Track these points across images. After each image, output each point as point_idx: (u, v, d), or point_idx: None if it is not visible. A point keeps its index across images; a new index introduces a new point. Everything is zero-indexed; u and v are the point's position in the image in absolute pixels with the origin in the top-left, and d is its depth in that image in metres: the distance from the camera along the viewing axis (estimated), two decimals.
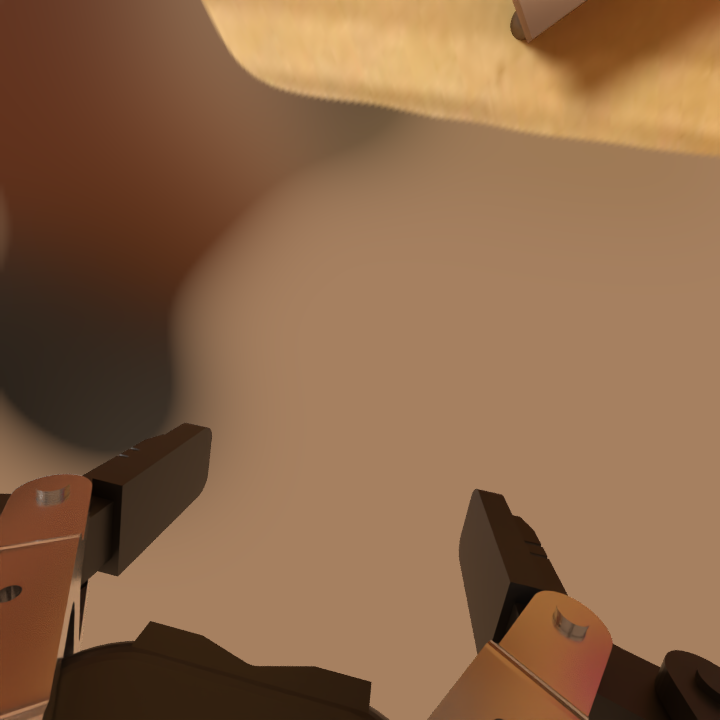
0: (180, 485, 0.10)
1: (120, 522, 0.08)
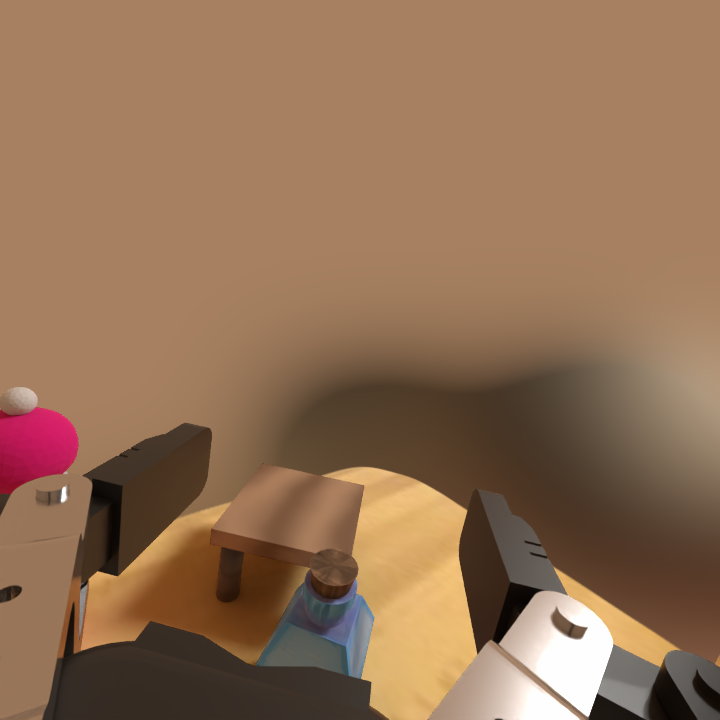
0: (180, 485, 0.10)
1: (120, 522, 0.08)
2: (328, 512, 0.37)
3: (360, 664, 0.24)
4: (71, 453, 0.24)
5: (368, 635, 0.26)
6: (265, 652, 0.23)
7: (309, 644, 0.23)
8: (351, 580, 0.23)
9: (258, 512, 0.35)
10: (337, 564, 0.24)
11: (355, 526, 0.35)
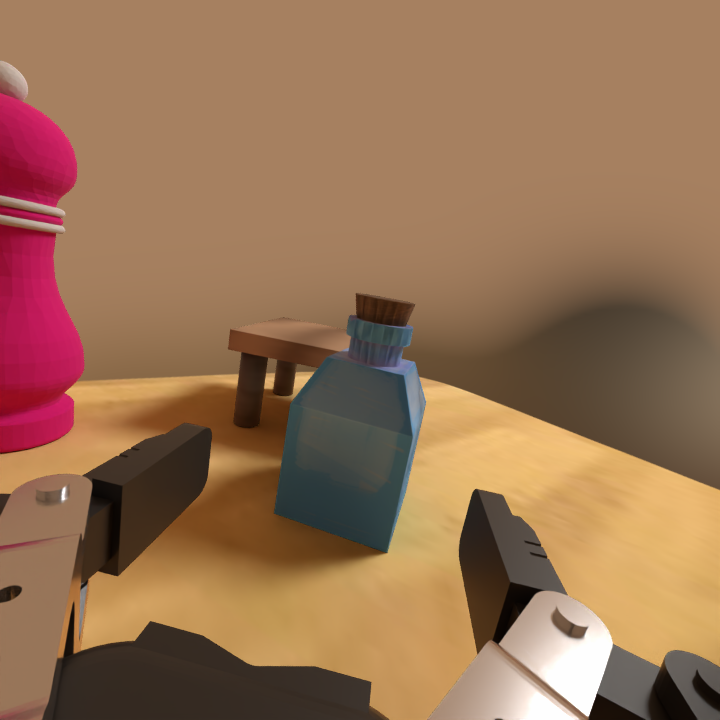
0: (180, 485, 0.10)
1: (120, 522, 0.08)
2: None
3: (417, 417, 0.19)
4: (68, 162, 0.20)
5: (422, 407, 0.21)
6: (301, 391, 0.19)
7: (357, 377, 0.18)
8: (409, 303, 0.19)
9: (282, 331, 0.30)
10: (389, 299, 0.20)
11: None
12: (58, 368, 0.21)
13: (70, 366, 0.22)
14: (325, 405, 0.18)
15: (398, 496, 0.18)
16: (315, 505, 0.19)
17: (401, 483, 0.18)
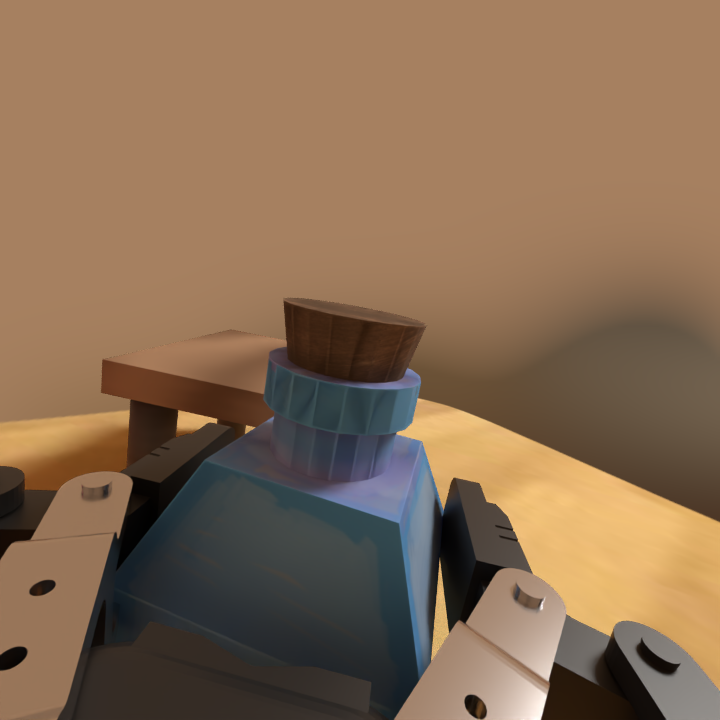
0: None
1: (157, 518, 0.08)
2: None
3: (432, 600, 0.08)
4: None
5: (439, 539, 0.10)
6: (136, 551, 0.07)
7: (275, 521, 0.07)
8: (411, 326, 0.07)
9: (206, 358, 0.19)
10: (364, 312, 0.08)
11: None
12: None
13: None
14: (189, 597, 0.07)
15: None
16: None
17: None
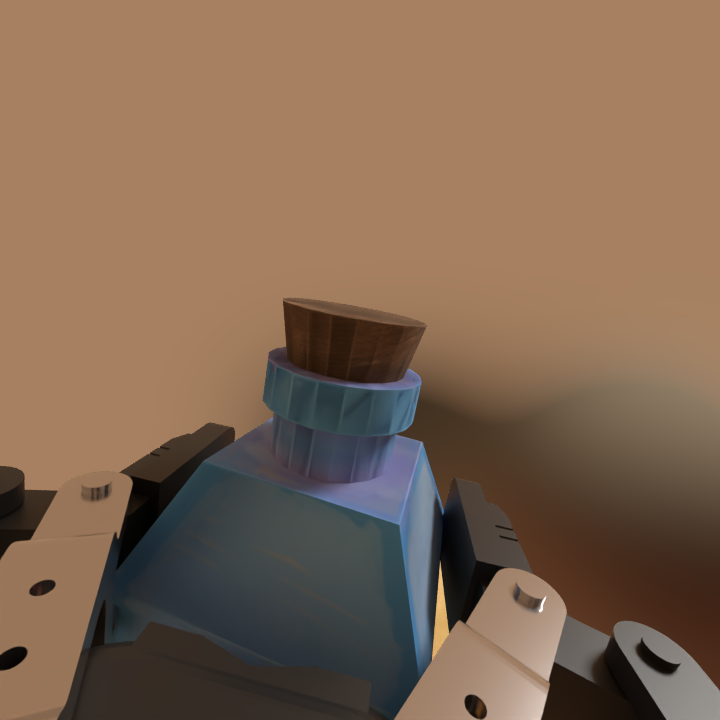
0: None
1: (157, 518, 0.08)
2: None
3: (433, 602, 0.08)
4: None
5: (439, 540, 0.10)
6: (135, 553, 0.07)
7: (274, 522, 0.07)
8: (412, 326, 0.07)
9: None
10: (364, 312, 0.08)
11: None
12: None
13: None
14: (188, 600, 0.07)
15: None
16: None
17: None
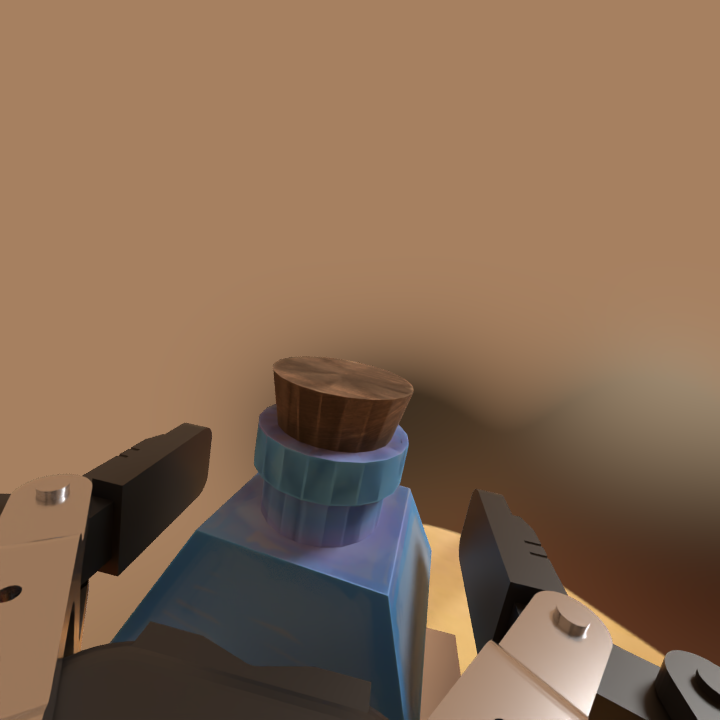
0: (180, 485, 0.10)
1: (120, 522, 0.08)
2: None
3: (421, 657, 0.08)
4: None
5: (427, 585, 0.10)
6: (129, 623, 0.07)
7: (267, 593, 0.07)
8: (399, 397, 0.08)
9: None
10: (352, 374, 0.09)
11: None
12: None
13: None
14: None
15: None
16: None
17: None
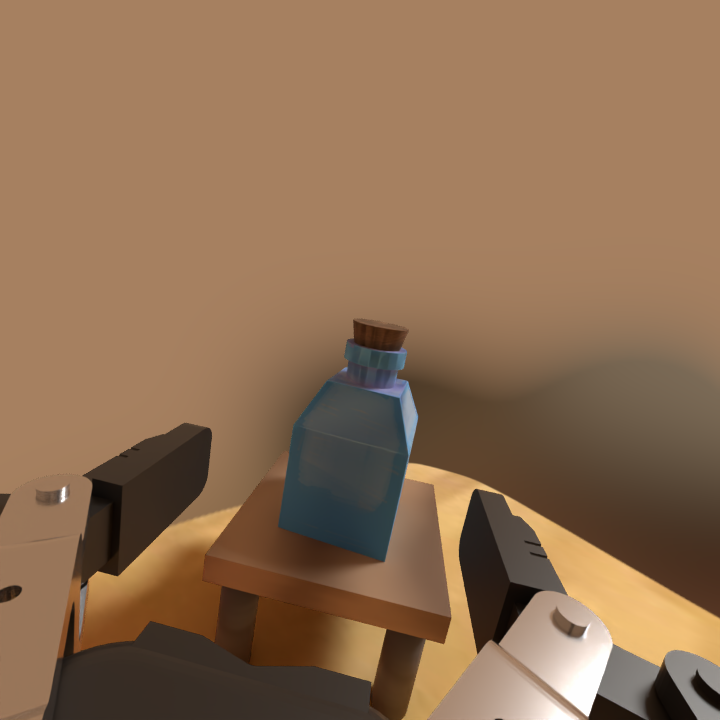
0: (180, 485, 0.10)
1: (120, 522, 0.08)
2: None
3: (411, 435, 0.21)
4: None
5: (415, 423, 0.23)
6: (303, 413, 0.20)
7: (355, 399, 0.20)
8: (403, 330, 0.20)
9: None
10: (384, 324, 0.21)
11: (440, 550, 0.22)
12: None
13: None
14: (326, 426, 0.20)
15: (395, 509, 0.19)
16: (317, 519, 0.21)
17: (398, 498, 0.19)
